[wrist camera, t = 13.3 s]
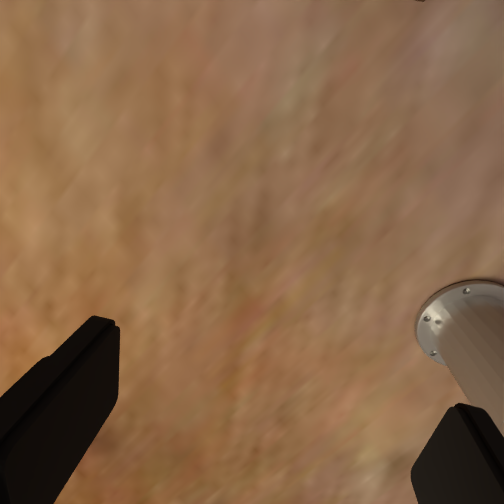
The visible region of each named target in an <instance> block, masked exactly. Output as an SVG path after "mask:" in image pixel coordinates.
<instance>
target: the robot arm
mask: <svg viewBox="0 0 504 504" xmlns="http://www.w3.org/2000/svg"><path fill="white" fill-rule="evenodd" d="M415 335H416V339H417V341H418V343H419V345H420V347H421V348H422V350H423V352H424V353H425V354H426V355H427V356H428V357H429V358H431V359H432V360H434V361H436V362H437V363H440V364H442V365H445V366H447V367H448V368H449V370H450V372H451V373H452V375H453V376H454V378H455V380H456V381H457V383H458V385H459V386H460V388H461V389H462V391H463V393H464V394H465V396H466V397H467V399H468V401H469V402H470V404H471V405H467V404H463V403H458V404H456V405H455V406H454V407H450V408H449V409H448V410H447V412H446V413H445V415H444V416H443V418H442V420H441V421H440V423H439V425H438V426H437V428H436V429H435V431H434V433H433V434H432V436H431V438H430V439H429V441H428V442H427V444H426V446H425V447H424V449H423V450H422V452H421V454H420V455H419V457H418V459H417V460H416V462H415V463H414V465H413V467H412V469H411V482H412V485H413V488H414V491H415V495H416V498H417V501H418V504H504V286H503V285H500V284H498V283H494V282H490V281H479V280H474V281H465V282H461V283H457V284H454V285H451V286H449V287H446V288H444V289H442V290H441V291H439V292H437V293H436V294H434V295H433V296H432V297H431V298H430V299H429V300H427V302H426V303H425V304H424V305H423V306H422V308H421V310H420V311H419V313H418V315H417V318H416V322H415ZM119 351H120V328H119V327H118V326H115V321H114V320H111V319H107V318H103V317H99V316H95V315H94V316H91V317H90V318H89V319H88V320H87V321H86V322H85V323H84V324H83V325H82V326H80V327H79V328H78V329H77V330H76V331H75V332H74V333H73V334H72V335H71V336H70V337H69V338H68V339H67V340H66V341H65V342H64V343H63V344H62V345H61V346H60V347H59V348H58V349H57V350H56V351H55V352H54V353H53V354H52V355H50V356H47V357H44V358H42V359H41V360H40V361H38V362H37V363H36V364H35V365H34V366H33V367H32V368H31V369H30V370H29V371H28V372H27V373H25V374H24V375H23V376H22V377H21V378H20V379H19V380H18V381H17V382H16V383H15V384H14V385H13V386H12V387H11V388H10V389H9V390H7V391H6V392H5V393H4V394H3V395H2V396H1V397H0V504H53V503H54V502H55V500H56V499H57V497H58V496H59V494H60V492H61V491H62V489H63V488H64V486H65V484H66V483H67V481H68V480H69V478H70V476H71V475H72V473H73V472H74V470H75V468H76V467H77V465H78V464H79V462H80V460H81V459H82V457H83V456H84V454H85V453H86V451H87V449H88V448H89V446H90V445H91V443H92V441H93V440H94V438H95V437H96V435H97V433H98V432H99V430H100V429H101V427H102V425H103V424H104V422H105V421H106V419H107V417H108V416H109V414H110V413H111V411H112V410H113V408H114V406H115V404H116V401H117V398H118V387H119Z"/></svg>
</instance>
